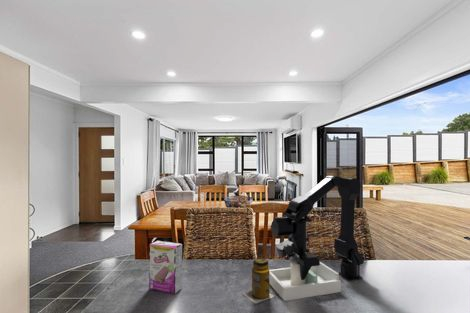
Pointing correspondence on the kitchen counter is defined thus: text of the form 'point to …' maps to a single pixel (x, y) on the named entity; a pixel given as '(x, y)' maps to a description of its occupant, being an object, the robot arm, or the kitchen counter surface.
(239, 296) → the kitchen counter surface
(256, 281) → the condiment
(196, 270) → the kitchen counter surface
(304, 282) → the jar
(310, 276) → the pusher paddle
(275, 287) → the white tray
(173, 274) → the candy bar box
